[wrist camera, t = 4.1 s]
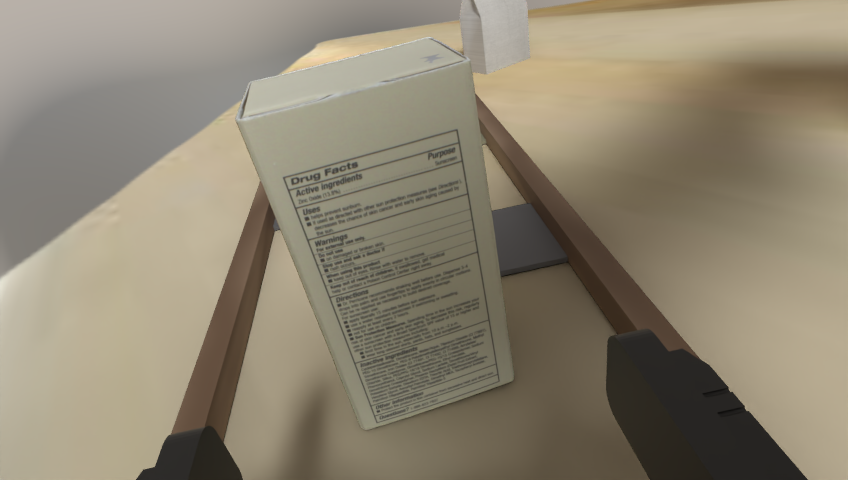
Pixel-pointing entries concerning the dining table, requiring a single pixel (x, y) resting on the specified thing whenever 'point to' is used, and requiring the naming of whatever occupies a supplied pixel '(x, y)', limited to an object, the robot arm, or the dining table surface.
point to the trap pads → (521, 240)
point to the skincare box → (387, 222)
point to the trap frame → (241, 289)
